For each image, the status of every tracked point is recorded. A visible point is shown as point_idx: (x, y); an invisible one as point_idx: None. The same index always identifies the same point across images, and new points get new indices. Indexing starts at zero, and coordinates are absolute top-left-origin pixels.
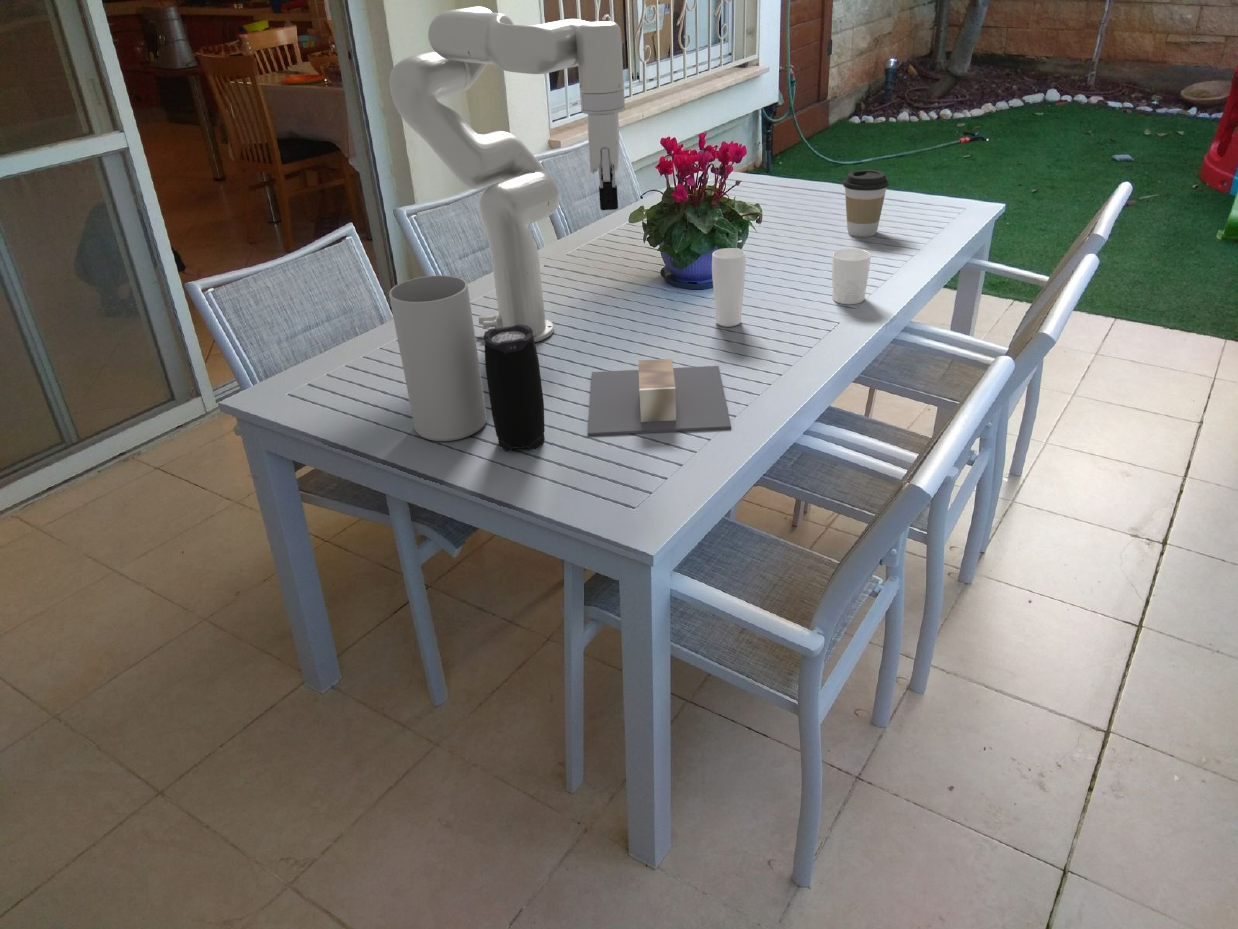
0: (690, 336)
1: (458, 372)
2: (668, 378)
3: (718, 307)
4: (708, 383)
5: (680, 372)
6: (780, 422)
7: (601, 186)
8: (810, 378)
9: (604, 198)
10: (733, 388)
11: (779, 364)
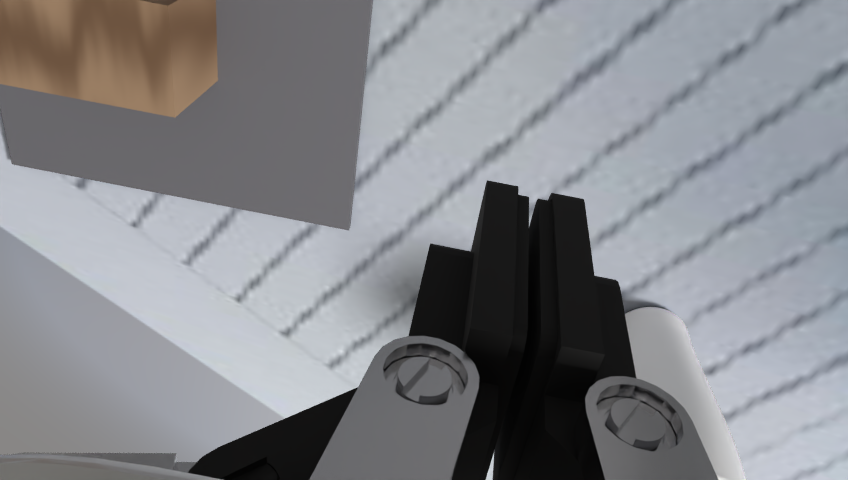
0: (595, 217)
1: None
2: (30, 73)
3: (641, 343)
4: (243, 178)
5: (325, 126)
6: (55, 261)
7: (370, 370)
8: (259, 375)
9: (420, 287)
10: (226, 224)
11: (342, 349)
